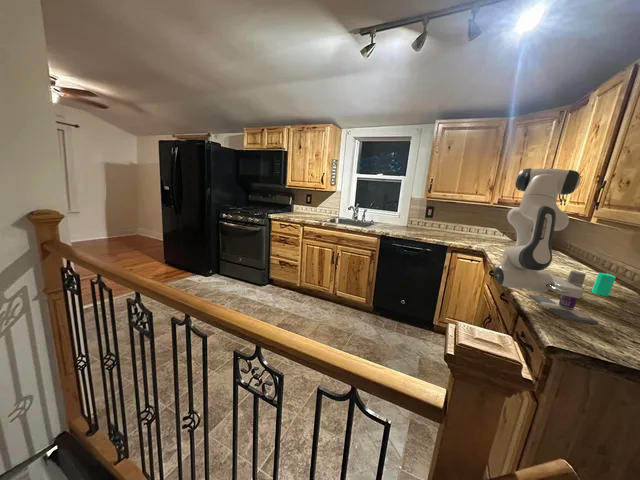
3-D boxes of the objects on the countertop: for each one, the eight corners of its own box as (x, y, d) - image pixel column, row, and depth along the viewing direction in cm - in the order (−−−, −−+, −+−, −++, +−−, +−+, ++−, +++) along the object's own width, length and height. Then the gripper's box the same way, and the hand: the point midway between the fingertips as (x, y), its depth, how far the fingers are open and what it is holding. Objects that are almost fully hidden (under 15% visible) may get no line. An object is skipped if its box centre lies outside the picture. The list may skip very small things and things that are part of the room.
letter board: (528, 296, 116) (529, 294, 116) (557, 300, 114) (558, 298, 114) (562, 319, 97) (563, 316, 96) (597, 324, 95) (598, 321, 95)
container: (576, 310, 102) (589, 275, 99) (563, 307, 103) (576, 273, 100) (568, 304, 107) (580, 271, 103) (555, 302, 107) (567, 269, 104)
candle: (596, 294, 127) (605, 272, 124) (588, 290, 132) (596, 268, 130) (611, 297, 125) (620, 274, 122) (602, 292, 131) (611, 270, 128)
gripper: (560, 283, 93) (602, 289, 92) (525, 266, 113) (559, 270, 112) (555, 299, 95) (596, 304, 93) (521, 279, 115) (554, 283, 113)
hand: (575, 286), depth 103 cm, fingers closed on container, 5 cm apart
